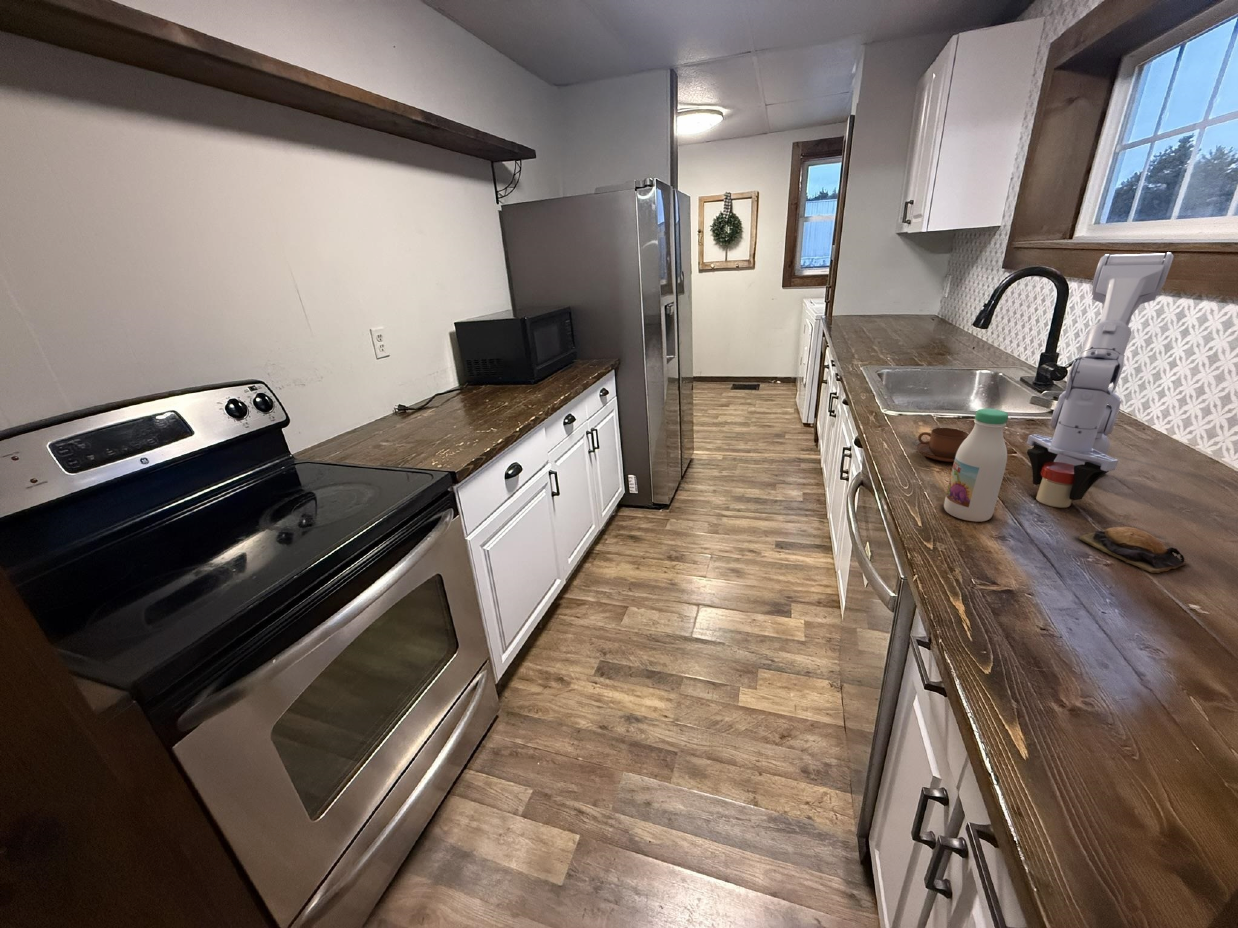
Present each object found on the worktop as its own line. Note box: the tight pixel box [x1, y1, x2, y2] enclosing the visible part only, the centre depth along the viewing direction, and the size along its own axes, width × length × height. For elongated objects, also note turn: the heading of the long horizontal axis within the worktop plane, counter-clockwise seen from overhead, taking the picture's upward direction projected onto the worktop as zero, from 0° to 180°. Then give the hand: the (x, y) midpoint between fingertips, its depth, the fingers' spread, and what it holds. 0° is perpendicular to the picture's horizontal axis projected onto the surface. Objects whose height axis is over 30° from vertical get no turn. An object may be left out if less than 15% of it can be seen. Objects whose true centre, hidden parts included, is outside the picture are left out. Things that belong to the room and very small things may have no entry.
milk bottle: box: [943, 408, 1009, 523], centre depth 90 cm, size 8×8×20 cm
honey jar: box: [1035, 477, 1073, 508], centre depth 95 cm, size 5×5×6 cm
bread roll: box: [1078, 526, 1187, 574], centre depth 80 cm, size 11×8×4 cm
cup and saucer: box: [916, 427, 969, 463], centre depth 118 cm, size 12×12×6 cm
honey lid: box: [1041, 462, 1075, 484], centre depth 94 cm, size 6×6×2 cm
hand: (1056, 491), depth 96 cm, fingers open, 6 cm apart
